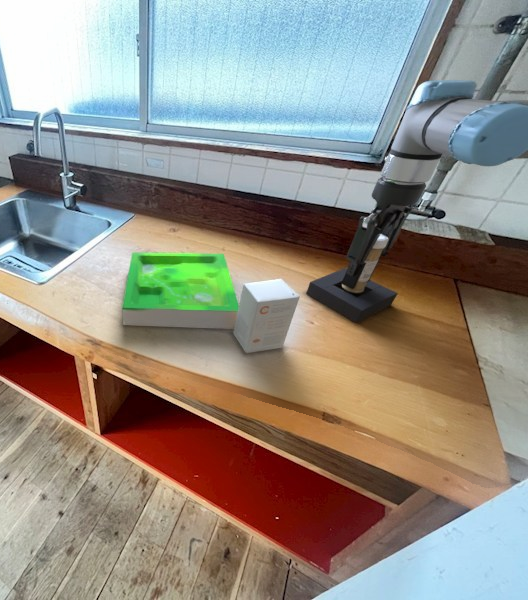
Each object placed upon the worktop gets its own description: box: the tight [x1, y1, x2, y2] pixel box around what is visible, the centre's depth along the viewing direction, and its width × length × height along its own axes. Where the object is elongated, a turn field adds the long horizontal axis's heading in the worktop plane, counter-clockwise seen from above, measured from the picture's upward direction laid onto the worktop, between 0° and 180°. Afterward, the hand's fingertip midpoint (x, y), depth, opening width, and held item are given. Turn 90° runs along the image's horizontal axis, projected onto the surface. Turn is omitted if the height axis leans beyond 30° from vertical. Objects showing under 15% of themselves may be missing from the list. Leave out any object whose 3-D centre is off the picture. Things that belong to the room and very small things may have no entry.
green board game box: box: [121, 252, 239, 330], centre depth 80 cm, size 25×25×5 cm
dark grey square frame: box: [305, 267, 399, 324], centre depth 76 cm, size 13×13×4 cm
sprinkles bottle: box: [342, 234, 389, 293], centre depth 71 cm, size 5×5×14 cm
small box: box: [233, 278, 300, 354], centre depth 63 cm, size 8×6×13 cm
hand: (354, 282), depth 74 cm, fingers closed on sprinkles bottle, 4 cm apart
